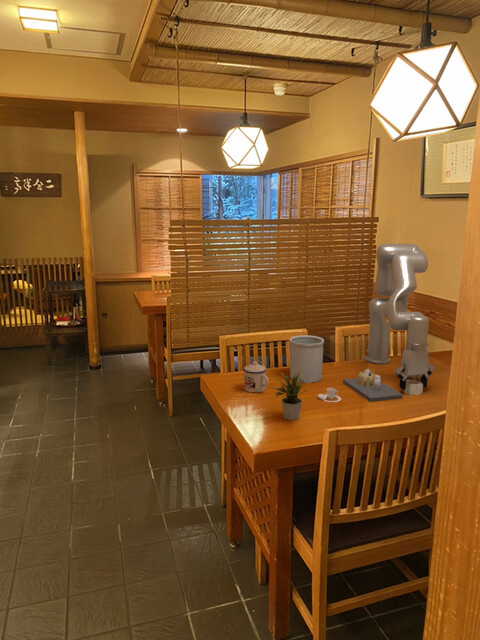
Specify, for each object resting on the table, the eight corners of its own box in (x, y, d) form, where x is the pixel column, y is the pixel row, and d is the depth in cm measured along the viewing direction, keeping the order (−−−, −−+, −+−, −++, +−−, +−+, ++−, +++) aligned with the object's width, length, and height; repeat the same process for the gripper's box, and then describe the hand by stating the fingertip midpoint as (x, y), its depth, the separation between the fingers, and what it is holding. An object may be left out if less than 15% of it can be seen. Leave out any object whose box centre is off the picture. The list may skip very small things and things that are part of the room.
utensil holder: (299, 385, 191) (301, 345, 187) (282, 375, 204) (283, 337, 201) (329, 380, 197) (331, 341, 193) (310, 370, 210) (311, 333, 207)
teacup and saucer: (316, 401, 176) (316, 391, 175) (320, 394, 183) (320, 384, 182) (339, 404, 172) (339, 394, 172) (342, 397, 180) (343, 387, 179)
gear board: (342, 382, 195) (343, 365, 193) (372, 379, 198) (373, 362, 197) (370, 401, 174) (371, 382, 172) (402, 398, 177) (404, 379, 176)
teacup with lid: (238, 388, 187) (239, 361, 185) (254, 383, 193) (255, 357, 191) (259, 397, 178) (259, 368, 176) (275, 391, 184) (276, 363, 182)
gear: (399, 389, 187) (399, 380, 186) (414, 388, 189) (415, 378, 188) (410, 396, 180) (410, 386, 179) (426, 394, 182) (426, 384, 181)
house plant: (278, 405, 170) (279, 363, 167) (314, 411, 165) (316, 367, 162) (265, 420, 157) (266, 375, 154) (304, 427, 152) (306, 380, 149)
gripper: (428, 343, 186) (425, 383, 189) (391, 345, 181) (388, 386, 185) (441, 347, 179) (437, 389, 182) (403, 350, 174) (399, 393, 178)
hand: (413, 387), depth 184 cm, fingers open, 9 cm apart
